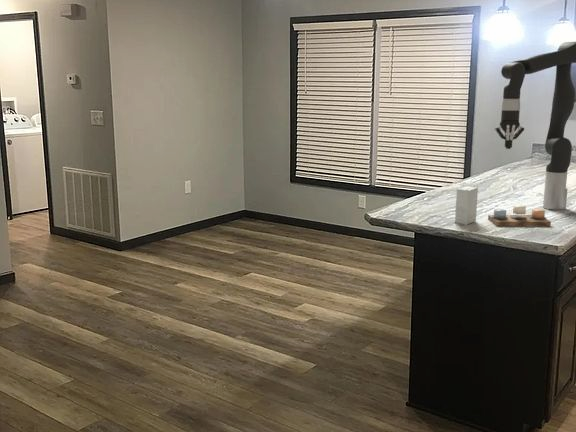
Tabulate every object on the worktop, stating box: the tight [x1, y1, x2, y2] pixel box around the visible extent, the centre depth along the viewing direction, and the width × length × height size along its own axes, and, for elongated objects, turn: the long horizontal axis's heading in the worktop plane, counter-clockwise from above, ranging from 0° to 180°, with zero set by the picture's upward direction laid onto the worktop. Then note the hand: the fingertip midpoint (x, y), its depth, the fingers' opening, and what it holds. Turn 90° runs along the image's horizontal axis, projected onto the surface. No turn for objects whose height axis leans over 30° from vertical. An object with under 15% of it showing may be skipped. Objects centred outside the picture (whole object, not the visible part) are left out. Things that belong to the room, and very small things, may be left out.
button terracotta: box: [531, 208, 546, 219], centre depth 276 cm, size 5×5×3 cm
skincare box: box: [454, 185, 479, 225], centre depth 277 cm, size 8×6×15 cm
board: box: [487, 214, 552, 227], centre depth 277 cm, size 22×13×2 cm, turn 88°
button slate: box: [493, 208, 507, 219], centre depth 276 cm, size 5×5×3 cm
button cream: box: [512, 204, 527, 215], centre depth 276 cm, size 5×5×3 cm
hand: (508, 148), depth 291 cm, fingers closed
